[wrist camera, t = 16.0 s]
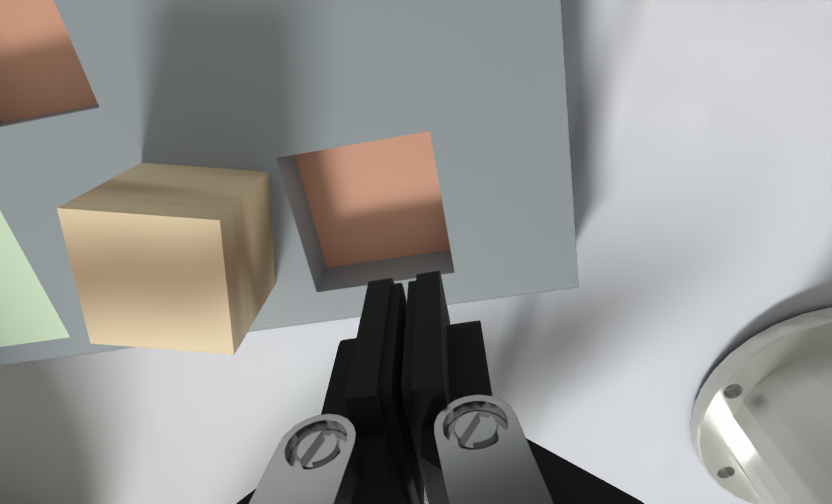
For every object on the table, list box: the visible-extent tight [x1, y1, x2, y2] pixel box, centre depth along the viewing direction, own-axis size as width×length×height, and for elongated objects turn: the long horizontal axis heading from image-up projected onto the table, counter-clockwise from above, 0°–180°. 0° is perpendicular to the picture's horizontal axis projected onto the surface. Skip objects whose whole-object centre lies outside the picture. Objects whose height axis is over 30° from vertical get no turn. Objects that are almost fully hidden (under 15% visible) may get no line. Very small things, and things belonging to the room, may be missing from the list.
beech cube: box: [57, 163, 275, 355], centre depth 19 cm, size 5×5×5 cm
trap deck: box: [0, 0, 579, 366], centre depth 20 cm, size 18×29×4 cm, turn 101°
